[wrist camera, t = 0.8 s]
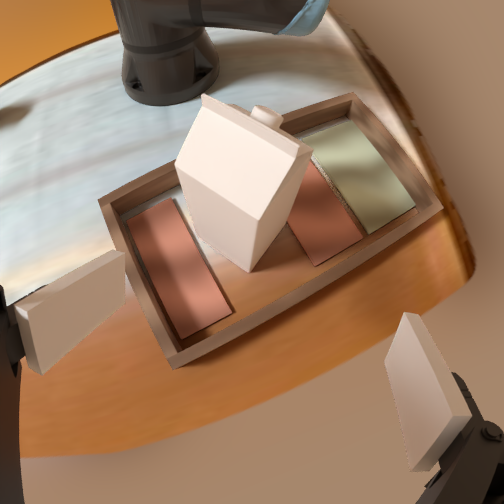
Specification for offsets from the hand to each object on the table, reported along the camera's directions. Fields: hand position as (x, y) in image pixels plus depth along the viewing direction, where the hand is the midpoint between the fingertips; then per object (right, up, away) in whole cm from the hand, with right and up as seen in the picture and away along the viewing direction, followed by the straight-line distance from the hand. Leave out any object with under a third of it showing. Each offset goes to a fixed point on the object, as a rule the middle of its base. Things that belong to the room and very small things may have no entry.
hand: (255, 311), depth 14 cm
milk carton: (-1, +5, +22) cm, 23 cm away
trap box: (+3, +7, +23) cm, 24 cm away
